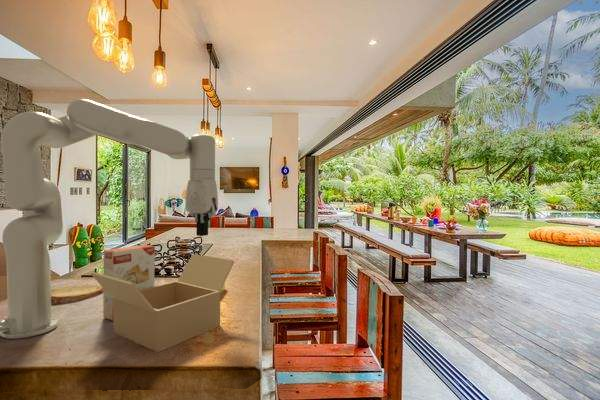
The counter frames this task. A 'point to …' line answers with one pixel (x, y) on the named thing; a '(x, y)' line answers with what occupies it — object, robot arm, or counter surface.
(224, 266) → the flap far
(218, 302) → the carton
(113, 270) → the cracker box
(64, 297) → the slice of bread
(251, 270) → the counter surface
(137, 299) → the flap arm side
